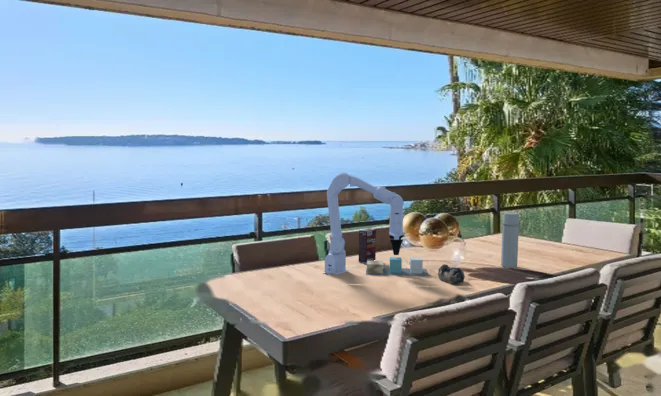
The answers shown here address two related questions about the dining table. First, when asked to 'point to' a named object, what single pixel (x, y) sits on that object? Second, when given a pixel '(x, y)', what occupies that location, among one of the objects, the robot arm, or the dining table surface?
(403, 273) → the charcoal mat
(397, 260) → the teal block
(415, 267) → the light grey block
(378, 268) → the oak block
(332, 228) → the robot arm
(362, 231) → the supplement box
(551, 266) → the dining table surface
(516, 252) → the water bottle
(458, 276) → the black rounded lump
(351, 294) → the dining table surface
